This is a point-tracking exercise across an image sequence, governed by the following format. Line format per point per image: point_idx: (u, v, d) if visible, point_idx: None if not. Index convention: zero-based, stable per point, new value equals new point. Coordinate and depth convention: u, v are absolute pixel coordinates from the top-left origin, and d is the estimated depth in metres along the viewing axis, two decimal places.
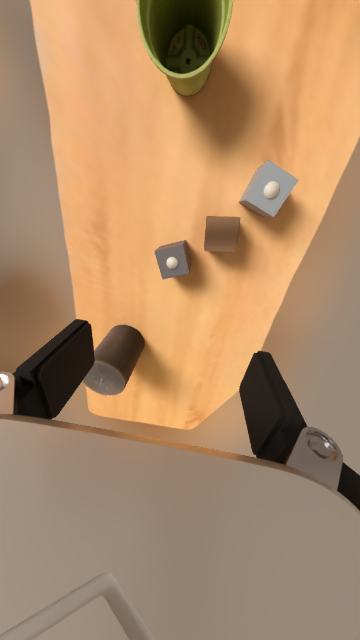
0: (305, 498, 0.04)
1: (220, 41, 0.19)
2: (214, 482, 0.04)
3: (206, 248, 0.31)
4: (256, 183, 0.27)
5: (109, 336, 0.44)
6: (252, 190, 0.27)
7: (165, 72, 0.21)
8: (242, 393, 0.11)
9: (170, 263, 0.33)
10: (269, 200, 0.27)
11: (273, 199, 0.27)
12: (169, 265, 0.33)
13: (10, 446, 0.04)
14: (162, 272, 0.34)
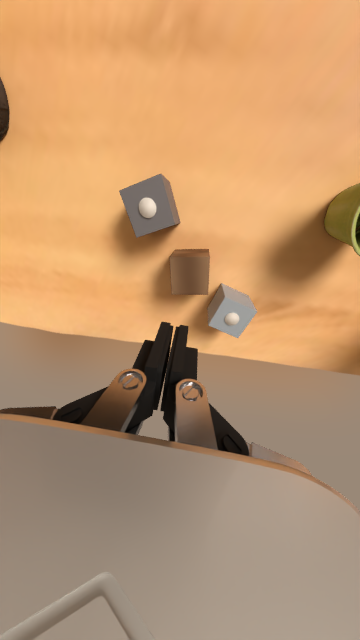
0: (305, 498, 0.04)
1: None
2: (214, 482, 0.04)
3: (172, 259, 0.24)
4: (239, 304, 0.26)
5: None
6: (233, 302, 0.26)
7: None
8: None
9: (146, 204, 0.21)
10: (223, 319, 0.27)
11: (224, 322, 0.28)
12: (143, 203, 0.21)
13: (10, 446, 0.04)
14: (130, 190, 0.21)
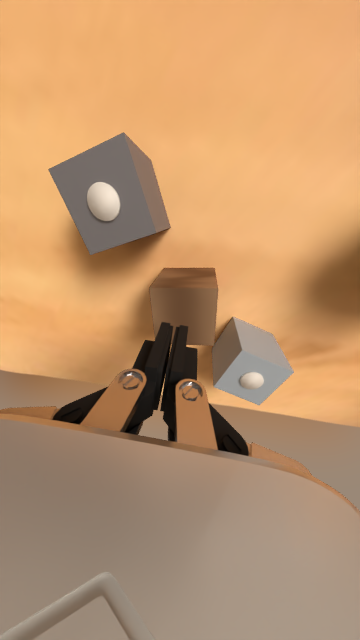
0: (305, 498, 0.04)
1: None
2: (214, 481, 0.04)
3: (154, 291, 0.14)
4: (264, 361, 0.16)
5: None
6: (255, 357, 0.16)
7: None
8: None
9: (101, 196, 0.11)
10: (237, 379, 0.17)
11: (238, 383, 0.18)
12: (94, 193, 0.11)
13: (10, 446, 0.04)
14: (68, 168, 0.11)
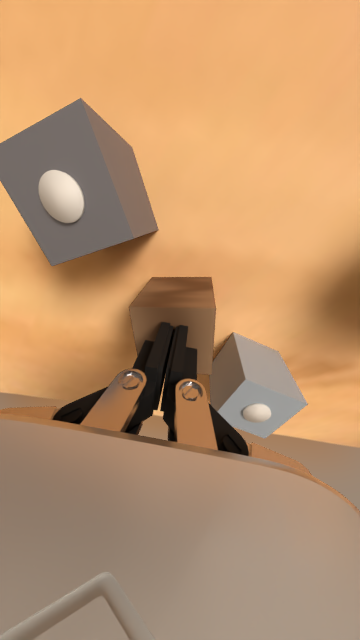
0: (305, 498, 0.04)
1: None
2: (214, 481, 0.04)
3: (135, 311, 0.11)
4: (272, 392, 0.13)
5: None
6: (261, 387, 0.13)
7: None
8: None
9: (57, 189, 0.08)
10: (240, 411, 0.15)
11: (241, 416, 0.15)
12: (48, 186, 0.08)
13: (10, 446, 0.04)
14: (10, 150, 0.08)
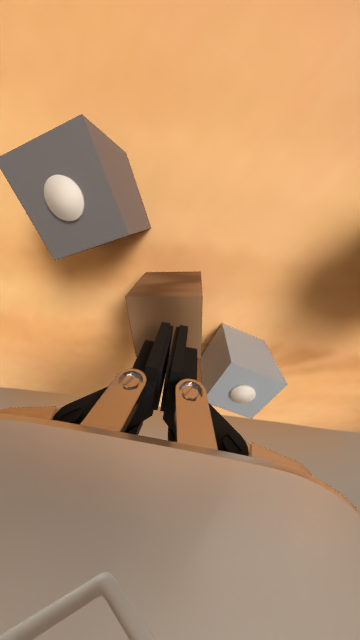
0: (305, 498, 0.04)
1: None
2: (214, 482, 0.04)
3: (131, 300, 0.12)
4: (255, 373, 0.15)
5: None
6: (245, 370, 0.15)
7: None
8: None
9: (61, 191, 0.10)
10: (227, 393, 0.16)
11: (228, 397, 0.16)
12: (52, 188, 0.10)
13: (10, 446, 0.04)
14: (18, 157, 0.09)
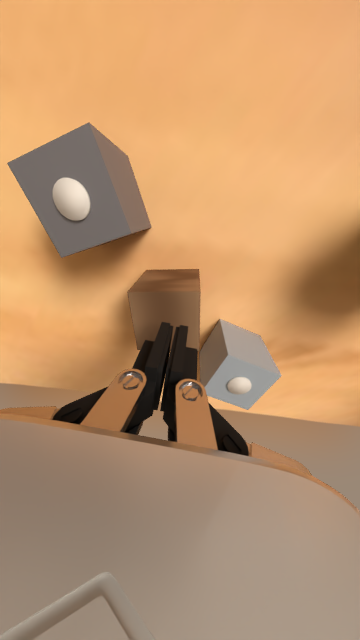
0: (305, 498, 0.04)
1: None
2: (214, 482, 0.04)
3: (133, 295, 0.13)
4: (251, 365, 0.15)
5: None
6: (241, 362, 0.15)
7: None
8: None
9: (68, 193, 0.10)
10: (225, 385, 0.17)
11: (226, 389, 0.17)
12: (60, 190, 0.10)
13: (10, 446, 0.04)
14: (29, 161, 0.10)
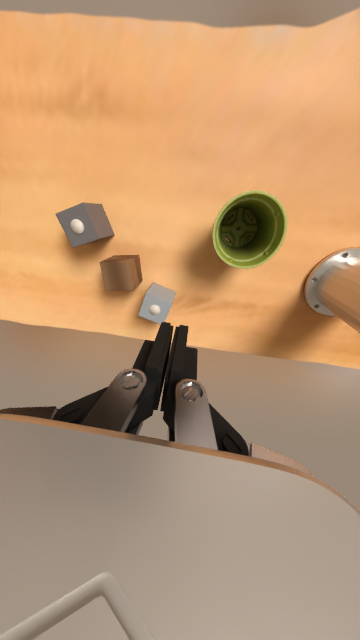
0: (305, 498, 0.04)
1: (228, 262, 0.27)
2: (214, 481, 0.04)
3: (102, 263, 0.32)
4: (157, 298, 0.34)
5: None
6: (153, 296, 0.34)
7: (216, 218, 0.25)
8: None
9: (76, 224, 0.29)
10: (148, 310, 0.35)
11: (149, 312, 0.35)
12: (73, 223, 0.29)
13: (10, 446, 0.04)
14: (63, 213, 0.29)
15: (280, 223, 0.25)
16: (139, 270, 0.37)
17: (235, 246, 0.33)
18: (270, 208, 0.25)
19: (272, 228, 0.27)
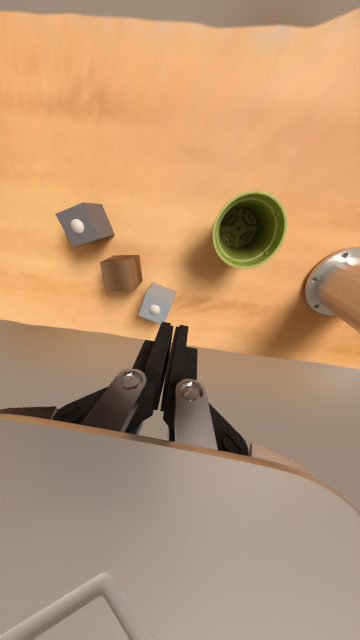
0: (305, 498, 0.04)
1: (228, 262, 0.27)
2: (214, 481, 0.04)
3: (102, 264, 0.32)
4: (157, 298, 0.34)
5: None
6: (153, 296, 0.34)
7: (216, 218, 0.25)
8: None
9: (76, 224, 0.29)
10: (148, 310, 0.35)
11: (149, 312, 0.35)
12: (73, 223, 0.29)
13: (10, 446, 0.04)
14: (63, 213, 0.29)
15: (281, 223, 0.25)
16: (139, 270, 0.37)
17: (235, 246, 0.33)
18: (270, 208, 0.25)
19: (272, 228, 0.27)
